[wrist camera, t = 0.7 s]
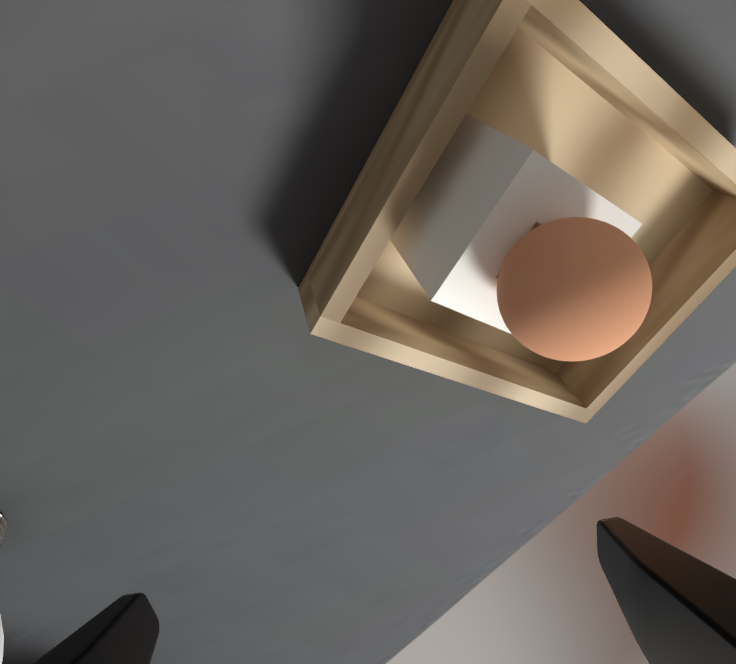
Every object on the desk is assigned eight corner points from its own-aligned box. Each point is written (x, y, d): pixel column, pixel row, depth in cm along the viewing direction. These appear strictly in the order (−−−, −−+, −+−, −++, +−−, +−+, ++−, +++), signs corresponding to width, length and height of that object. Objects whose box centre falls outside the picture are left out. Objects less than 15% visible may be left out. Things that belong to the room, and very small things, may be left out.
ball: (454, 303, 16) (514, 384, 13) (510, 181, 14) (598, 241, 11) (552, 320, 17) (628, 396, 14) (616, 212, 15) (721, 273, 12)
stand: (381, 226, 20) (431, 300, 15) (451, 106, 18) (533, 150, 13) (473, 270, 22) (541, 346, 17) (545, 168, 20) (642, 223, 15)
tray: (298, 288, 20) (310, 333, 18) (475, -42, 15) (529, -47, 13) (550, 381, 28) (585, 423, 25) (727, 178, 23) (794, 204, 20)
